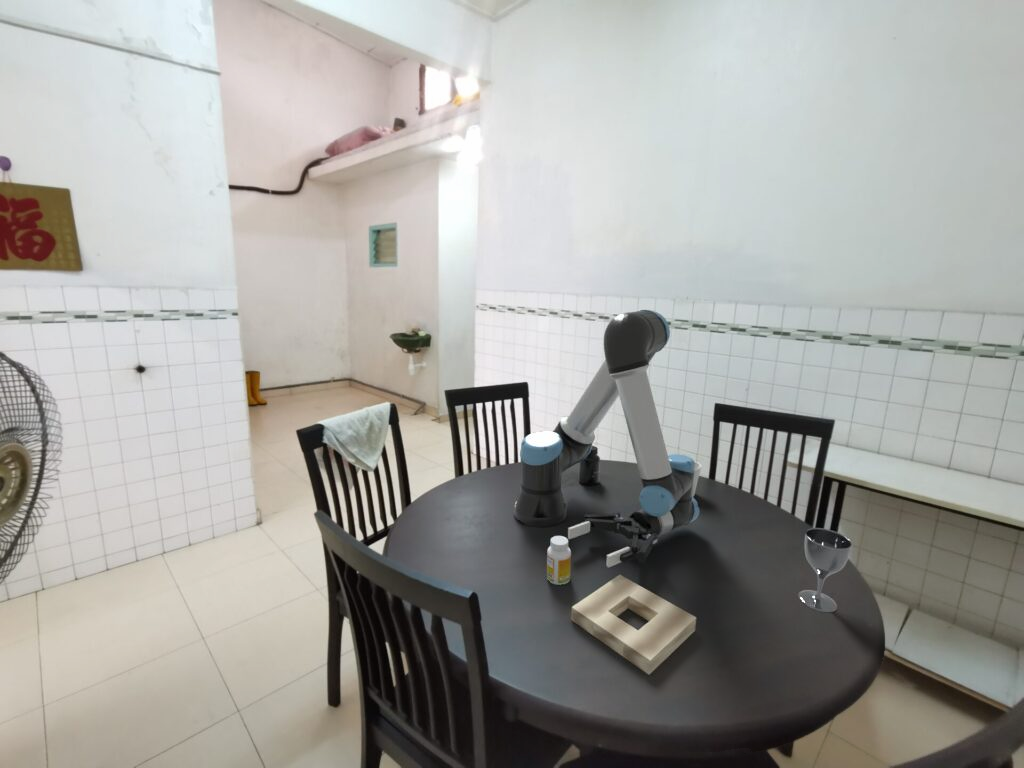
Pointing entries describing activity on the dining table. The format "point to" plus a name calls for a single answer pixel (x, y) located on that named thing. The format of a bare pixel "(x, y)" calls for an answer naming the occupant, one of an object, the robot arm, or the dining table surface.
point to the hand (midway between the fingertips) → (587, 546)
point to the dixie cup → (696, 476)
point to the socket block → (635, 645)
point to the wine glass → (824, 564)
